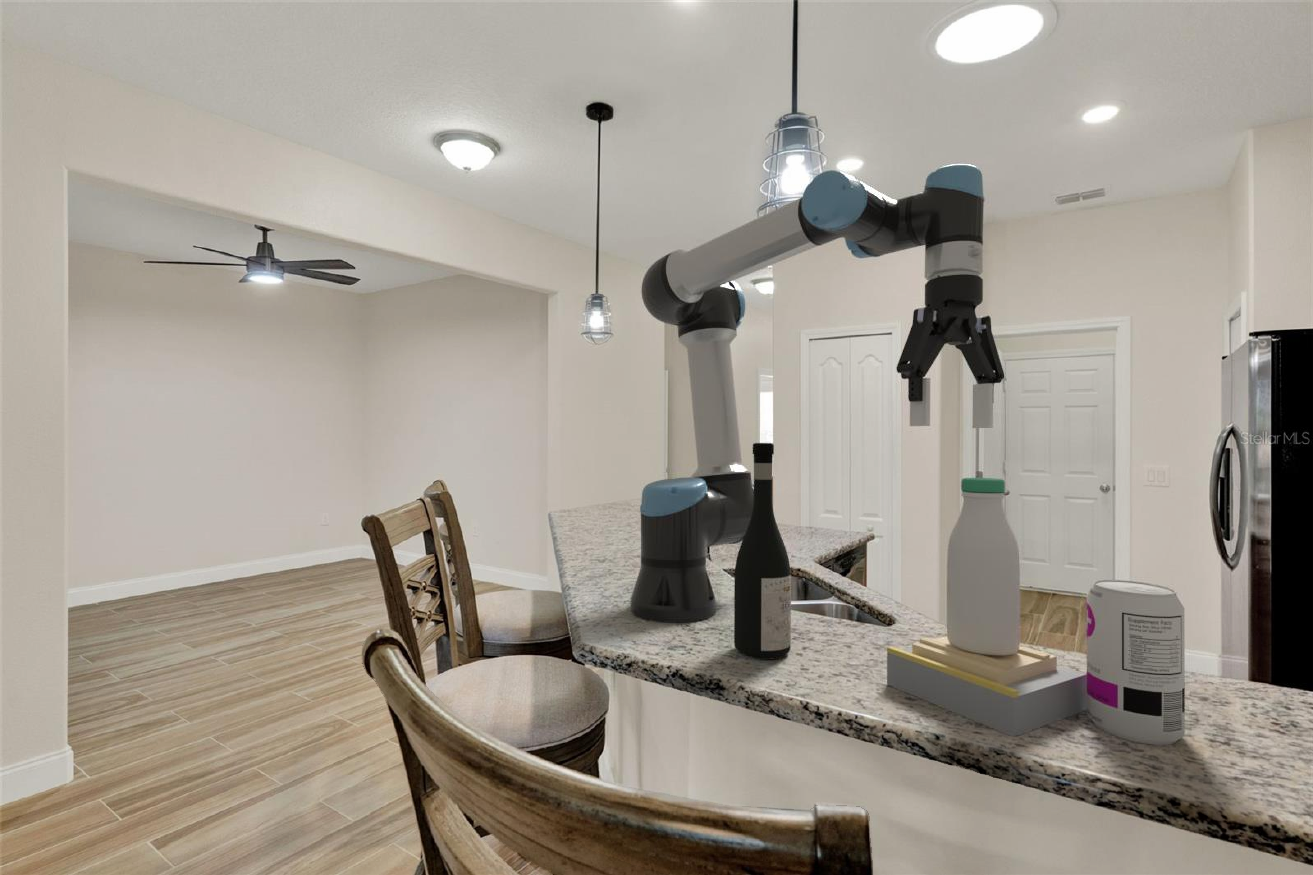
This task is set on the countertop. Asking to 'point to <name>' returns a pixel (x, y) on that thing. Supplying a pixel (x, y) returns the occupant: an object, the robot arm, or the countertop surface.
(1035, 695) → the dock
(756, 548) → the wine bottle
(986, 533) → the milk bottle
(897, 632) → the countertop surface
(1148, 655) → the supplement can
